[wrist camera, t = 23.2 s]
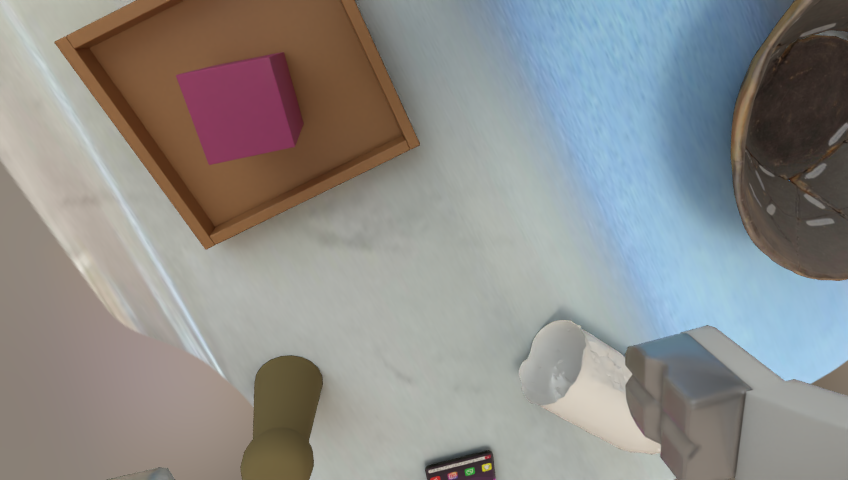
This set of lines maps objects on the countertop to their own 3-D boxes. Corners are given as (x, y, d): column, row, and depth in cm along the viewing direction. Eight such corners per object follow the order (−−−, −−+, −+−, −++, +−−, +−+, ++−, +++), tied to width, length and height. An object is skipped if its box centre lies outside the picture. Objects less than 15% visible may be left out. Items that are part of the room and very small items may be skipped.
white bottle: (628, 432, 55) (673, 494, 47) (505, 363, 48) (535, 422, 41) (679, 382, 53) (733, 438, 46) (558, 303, 46) (600, 354, 39)
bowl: (630, -3, 37) (727, -15, 27) (934, -120, 37) (1130, -171, 28) (669, 273, 47) (749, 331, 38) (906, 180, 47) (1041, 215, 38)
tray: (315, -81, 31) (313, -90, 29) (415, 138, 38) (420, 145, 36) (74, 41, 32) (53, 42, 30) (213, 236, 38) (205, 250, 36)
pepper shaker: (240, 375, 44) (212, 477, 34) (299, 344, 43) (288, 437, 33) (279, 419, 46) (262, 526, 36) (335, 390, 46) (334, 489, 36)
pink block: (283, 51, 34) (269, 56, 26) (303, 124, 36) (295, 146, 28) (210, 66, 33) (175, 75, 26) (235, 138, 35) (208, 165, 28)
